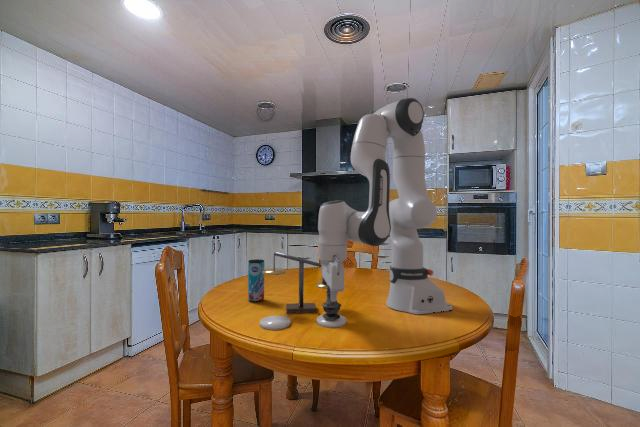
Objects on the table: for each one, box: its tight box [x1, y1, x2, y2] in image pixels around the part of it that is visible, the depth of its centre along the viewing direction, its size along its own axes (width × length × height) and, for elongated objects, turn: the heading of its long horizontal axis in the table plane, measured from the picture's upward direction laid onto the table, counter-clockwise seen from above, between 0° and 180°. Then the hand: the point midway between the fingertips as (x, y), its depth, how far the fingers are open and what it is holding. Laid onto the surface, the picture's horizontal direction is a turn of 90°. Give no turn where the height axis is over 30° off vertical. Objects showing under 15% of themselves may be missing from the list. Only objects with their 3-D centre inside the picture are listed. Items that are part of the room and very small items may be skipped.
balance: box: [262, 251, 327, 315], centre depth 104 cm, size 26×8×20 cm, turn 97°
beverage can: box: [247, 259, 265, 303], centre depth 115 cm, size 6×6×15 cm
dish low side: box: [316, 314, 347, 328], centre depth 94 cm, size 9×9×1 cm
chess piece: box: [321, 284, 342, 320], centre depth 94 cm, size 6×6×12 cm
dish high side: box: [259, 315, 291, 331], centre depth 91 cm, size 9×9×1 cm
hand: (331, 298), depth 94 cm, fingers closed on chess piece, 3 cm apart
